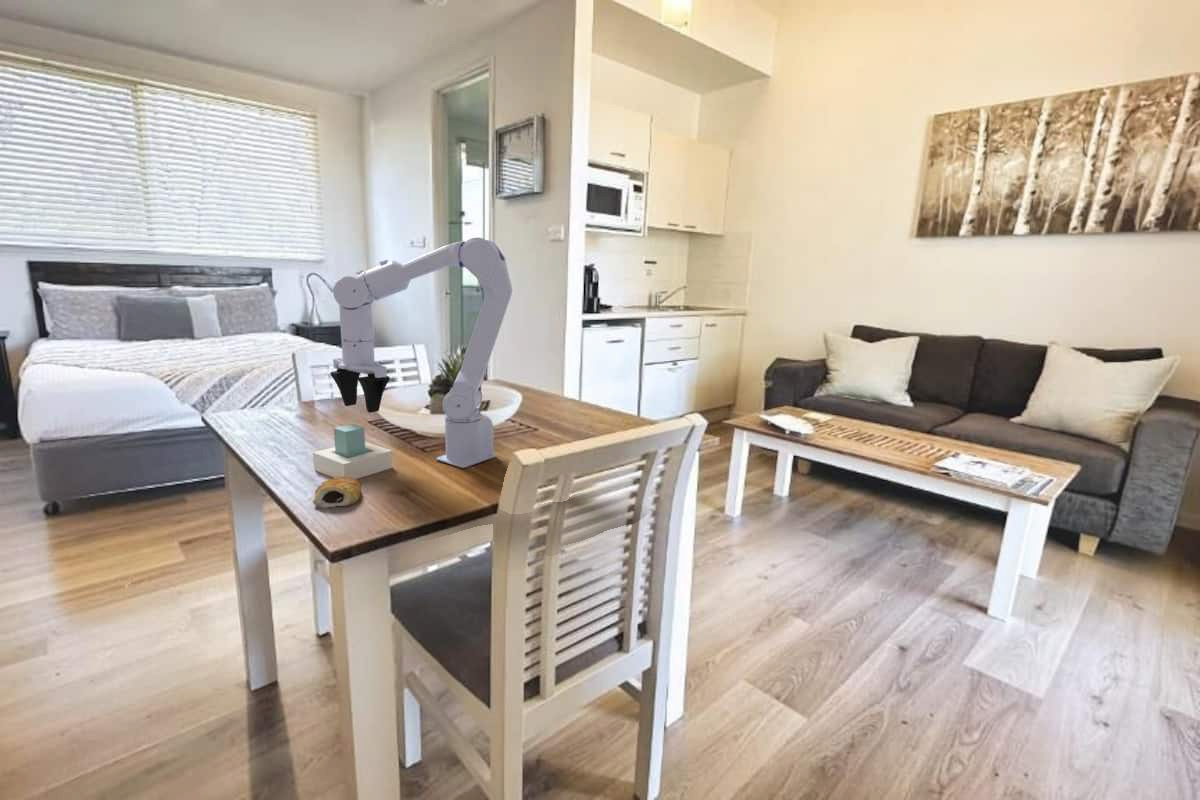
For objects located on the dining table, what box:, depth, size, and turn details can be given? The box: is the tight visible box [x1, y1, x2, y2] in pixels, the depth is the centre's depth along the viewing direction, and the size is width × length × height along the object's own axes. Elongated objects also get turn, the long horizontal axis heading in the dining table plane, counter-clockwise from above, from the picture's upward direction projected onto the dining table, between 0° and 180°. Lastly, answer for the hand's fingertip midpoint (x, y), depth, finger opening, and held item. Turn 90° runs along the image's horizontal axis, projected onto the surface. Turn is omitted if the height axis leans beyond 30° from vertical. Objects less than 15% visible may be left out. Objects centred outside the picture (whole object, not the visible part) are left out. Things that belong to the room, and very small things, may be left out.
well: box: [312, 441, 394, 480], centre depth 109 cm, size 10×10×4 cm
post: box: [333, 423, 366, 458], centre depth 108 cm, size 4×4×8 cm
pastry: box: [312, 476, 362, 508], centre depth 96 cm, size 9×7×4 cm
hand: (361, 408), depth 113 cm, fingers open, 7 cm apart
